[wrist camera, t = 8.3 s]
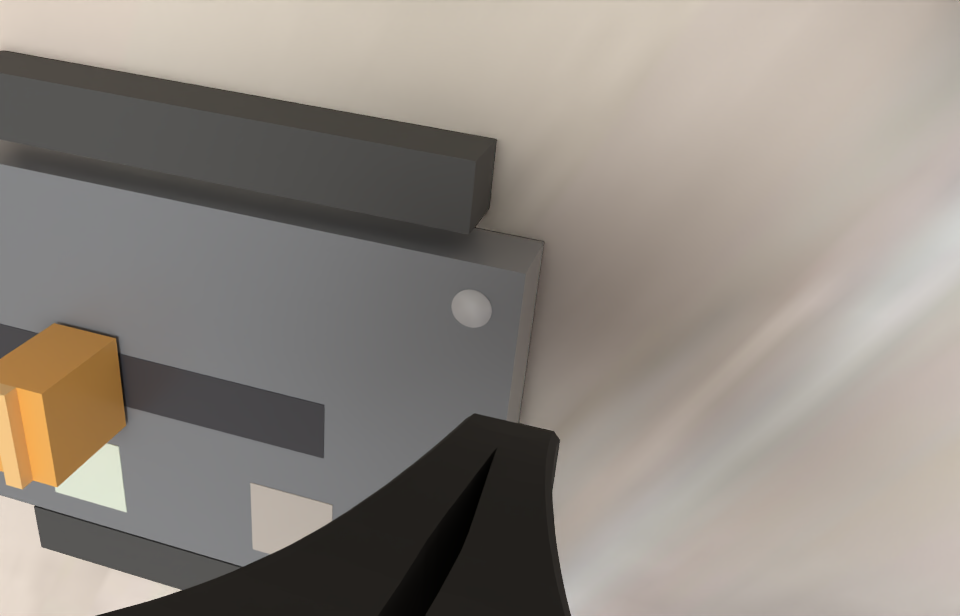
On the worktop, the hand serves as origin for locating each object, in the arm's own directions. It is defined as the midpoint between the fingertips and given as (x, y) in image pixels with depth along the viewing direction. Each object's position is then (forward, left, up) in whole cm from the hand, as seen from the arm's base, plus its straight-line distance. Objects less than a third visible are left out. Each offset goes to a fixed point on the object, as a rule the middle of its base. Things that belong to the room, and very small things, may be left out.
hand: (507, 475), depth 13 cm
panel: (-7, +10, -10) cm, 16 cm away
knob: (-7, +14, -8) cm, 17 cm away
